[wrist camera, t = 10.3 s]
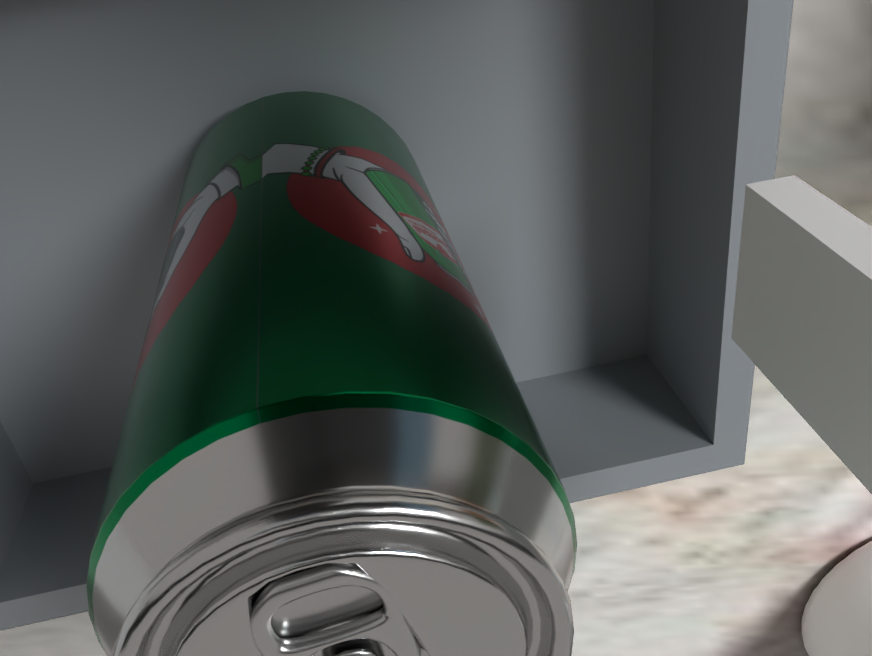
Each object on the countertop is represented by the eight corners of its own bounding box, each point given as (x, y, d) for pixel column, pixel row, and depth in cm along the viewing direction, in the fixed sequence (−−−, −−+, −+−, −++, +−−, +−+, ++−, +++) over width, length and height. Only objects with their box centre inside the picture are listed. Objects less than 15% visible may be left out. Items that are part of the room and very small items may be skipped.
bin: (-295, -84, 14) (-499, -56, 10) (685, -225, 15) (818, -246, 12) (19, 497, 21) (-34, 638, 17) (665, 361, 23) (744, 463, 19)
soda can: (237, 329, 19) (201, 886, 9) (142, 126, 16) (-64, 593, 6) (444, 264, 19) (641, 743, 9) (383, 51, 16) (569, 394, 6)
